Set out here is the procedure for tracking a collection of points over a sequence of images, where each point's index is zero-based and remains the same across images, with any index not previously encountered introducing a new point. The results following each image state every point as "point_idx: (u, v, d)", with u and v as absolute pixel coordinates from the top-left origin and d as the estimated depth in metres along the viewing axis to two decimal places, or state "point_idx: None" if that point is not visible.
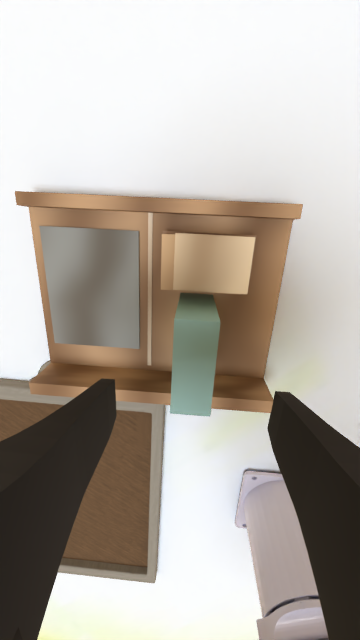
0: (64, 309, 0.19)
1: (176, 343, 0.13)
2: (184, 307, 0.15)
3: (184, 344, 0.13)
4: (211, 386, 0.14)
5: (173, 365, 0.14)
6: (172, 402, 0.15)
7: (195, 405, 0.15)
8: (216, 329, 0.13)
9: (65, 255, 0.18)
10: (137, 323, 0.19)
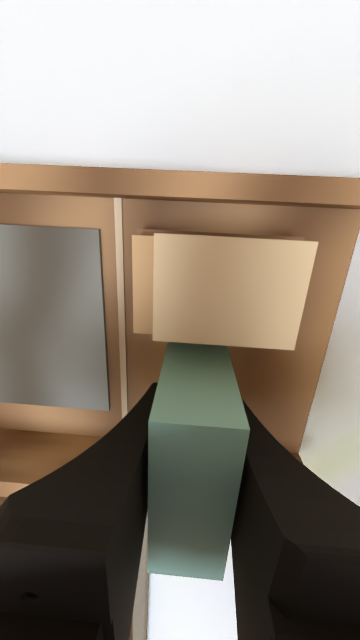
0: None
1: (155, 464, 0.06)
2: (174, 373, 0.08)
3: (171, 468, 0.06)
4: (226, 537, 0.07)
5: (150, 502, 0.07)
6: (151, 557, 0.08)
7: (195, 563, 0.08)
8: (239, 442, 0.06)
9: None
10: (104, 374, 0.12)
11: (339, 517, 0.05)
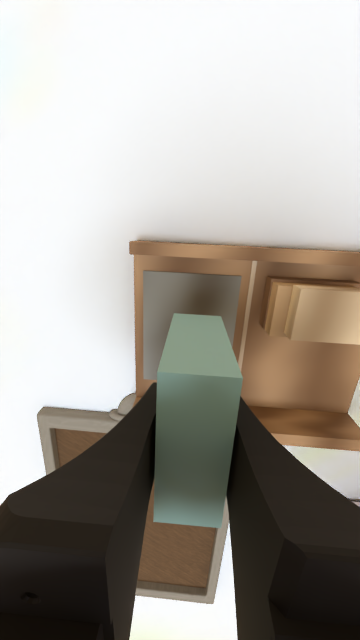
0: (157, 348, 0.20)
1: (162, 412, 0.07)
2: (177, 342, 0.09)
3: (176, 415, 0.07)
4: (224, 483, 0.08)
5: (157, 449, 0.08)
6: (157, 505, 0.09)
7: (197, 511, 0.09)
8: (233, 390, 0.07)
9: (165, 298, 0.18)
10: None
11: (339, 517, 0.05)
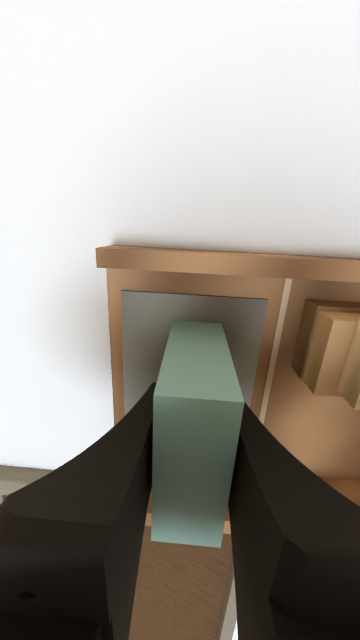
0: None
1: (159, 435, 0.07)
2: (176, 357, 0.09)
3: (173, 439, 0.07)
4: (224, 505, 0.08)
5: (154, 471, 0.07)
6: (154, 525, 0.08)
7: (195, 531, 0.08)
8: (234, 414, 0.07)
9: (154, 330, 0.12)
10: None
11: (340, 517, 0.05)
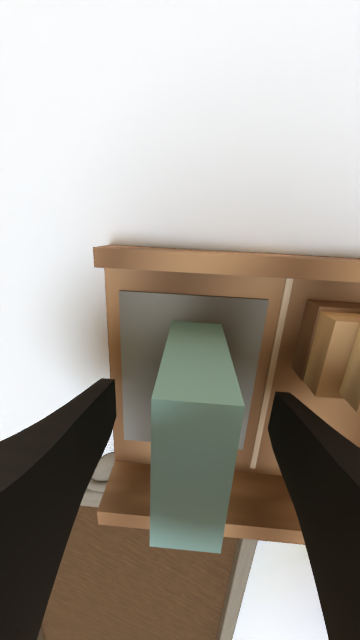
0: (142, 399, 0.14)
1: (157, 440, 0.07)
2: (175, 358, 0.08)
3: (172, 443, 0.07)
4: (223, 510, 0.08)
5: (152, 476, 0.07)
6: (153, 531, 0.08)
7: (194, 537, 0.08)
8: (235, 418, 0.06)
9: (153, 331, 0.12)
10: (245, 418, 0.14)
11: None
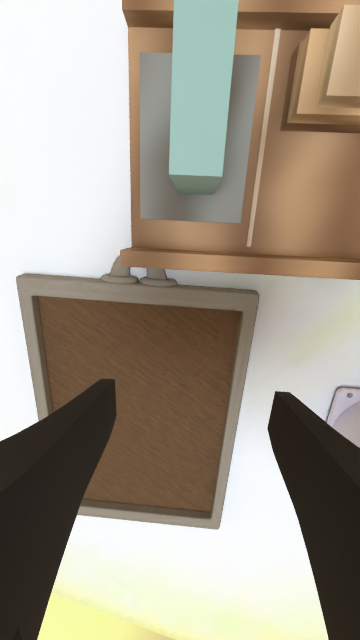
0: (157, 171, 0.16)
1: (177, 38, 0.10)
2: None
3: (188, 41, 0.10)
4: (224, 119, 0.10)
5: (173, 82, 0.10)
6: (171, 154, 0.11)
7: (203, 157, 0.11)
8: (232, 6, 0.09)
9: (166, 94, 0.15)
10: (242, 188, 0.17)
11: None
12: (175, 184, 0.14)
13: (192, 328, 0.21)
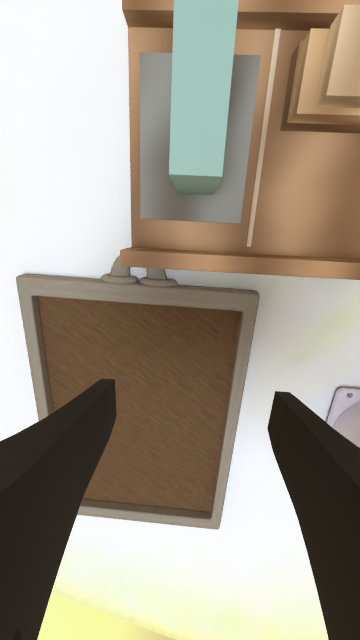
0: (157, 171, 0.16)
1: (177, 38, 0.10)
2: None
3: (188, 40, 0.10)
4: (224, 119, 0.10)
5: (173, 82, 0.10)
6: (172, 154, 0.11)
7: (203, 157, 0.11)
8: (232, 6, 0.09)
9: (166, 94, 0.15)
10: (242, 188, 0.17)
11: None
12: (175, 184, 0.14)
13: (192, 328, 0.21)
